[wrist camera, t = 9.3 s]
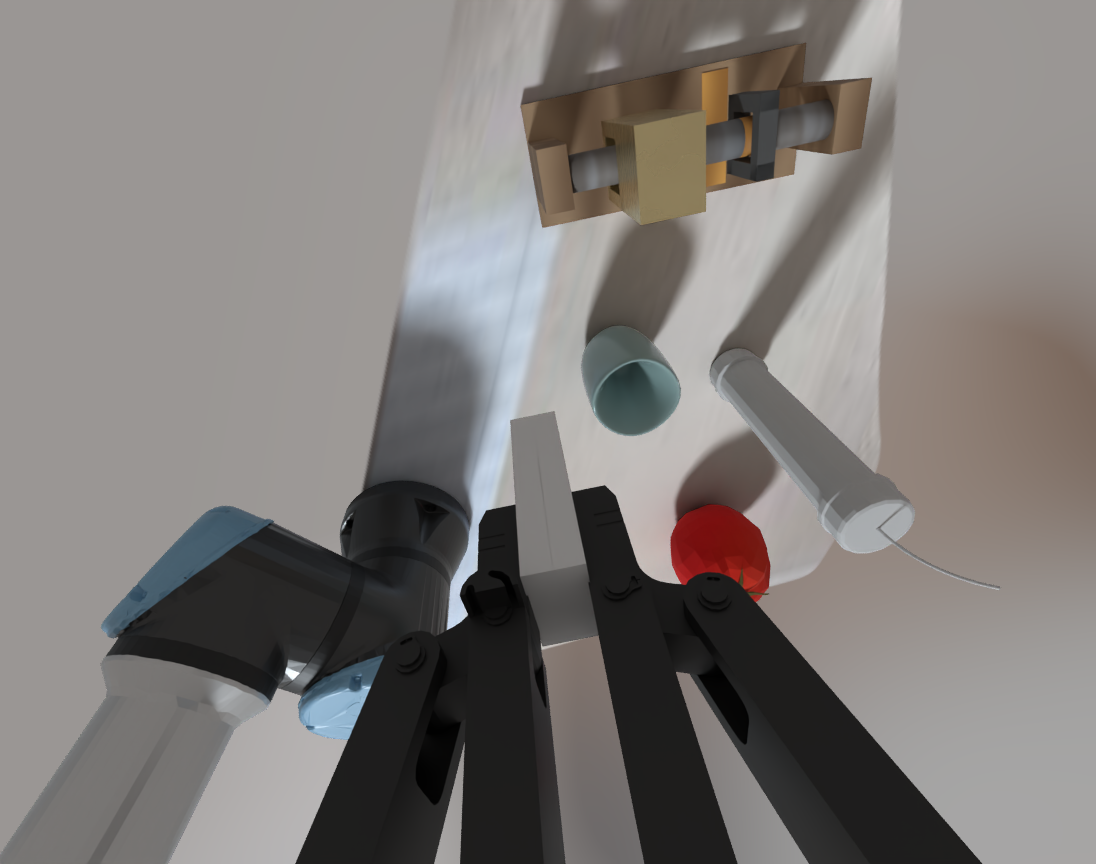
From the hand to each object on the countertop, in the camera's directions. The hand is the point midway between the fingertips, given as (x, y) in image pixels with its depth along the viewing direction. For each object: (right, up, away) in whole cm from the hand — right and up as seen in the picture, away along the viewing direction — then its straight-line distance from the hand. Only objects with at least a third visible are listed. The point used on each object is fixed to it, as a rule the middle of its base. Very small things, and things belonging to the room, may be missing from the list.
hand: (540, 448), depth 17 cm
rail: (+10, +25, +24) cm, 36 cm away
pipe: (+21, +8, +37) cm, 43 cm away
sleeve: (+6, +21, +19) cm, 29 cm away
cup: (+7, +9, +34) cm, 36 cm away
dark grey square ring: (+14, +22, +19) cm, 33 cm away
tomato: (+21, -11, +49) cm, 54 cm away
